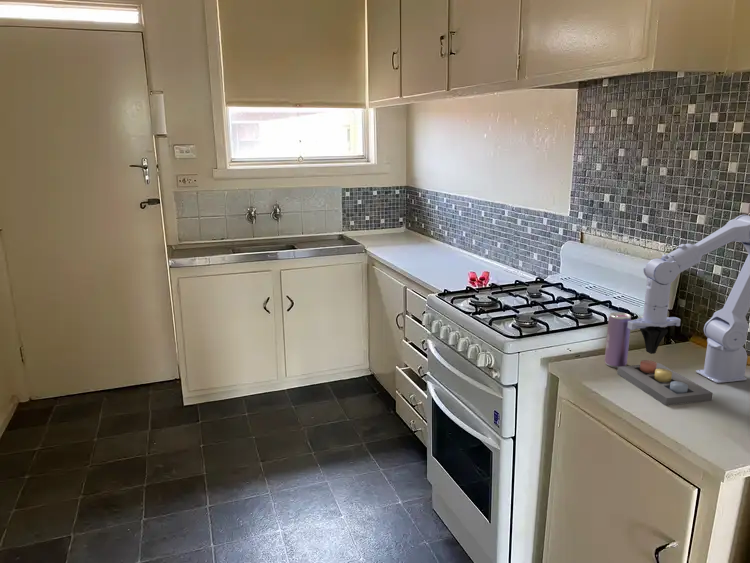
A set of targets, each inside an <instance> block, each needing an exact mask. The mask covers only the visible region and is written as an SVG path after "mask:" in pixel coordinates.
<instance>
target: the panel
mask: <svg viewBox="0 0 750 563" xmlns="http://www.w3.org/2000/svg"><path fill="white" fill-rule="evenodd" d="M656 363H657V367H656V369H659V368H661V369H667V370H670V371H671V372H672V378H671V382H673V381H678V382H683V383H685V384H687V385H688V391H687V393H681V394H676V393H674V392H673V391H671V390H670V383H671V382H660V381H657V380H655V379H654V376H655V373H645V372H642V371H641V370H640V364H635V365H634V364H633V365H626V366H622V367H618V368H616V370H617V371H616V373H617V374H616V375H618V376H620V377H621V378H623V379H625V380H626V381H627V382H629V383H630V384H632V385H634V386H635V387H637V388H639V390H641V391H643V392H644V393H646V394H647V395H649V396H650V397H652V398H653V399H655V400H657V401H658V402H660V403H661V404H662V405H664V406H674V405H682V404H684V405H685V404H691V403H693V404H694V403H701V402H709V401H713V395H714V393H713V392H712V391H710V390H708V389H707V388H705V387H703V386H701V385H699V384H698V383H696V382H694V381H692V380H691V379H689V378H687V377H685V376H684V375H682V374H681V373H679V372H677V371H674V370H672V368H669V367H667V366H665V365H664V364H662V363H660V362H656Z"/></svg>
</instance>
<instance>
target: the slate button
mask: <svg viewBox="0 0 750 563" xmlns="http://www.w3.org/2000/svg"><path fill="white" fill-rule="evenodd" d="M670 390H671V391H673V392H674V393H676V394H681V393H687V391H688V385H687V384H685V383H683V382H678V381H673V382H671V383H670Z"/></svg>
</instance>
